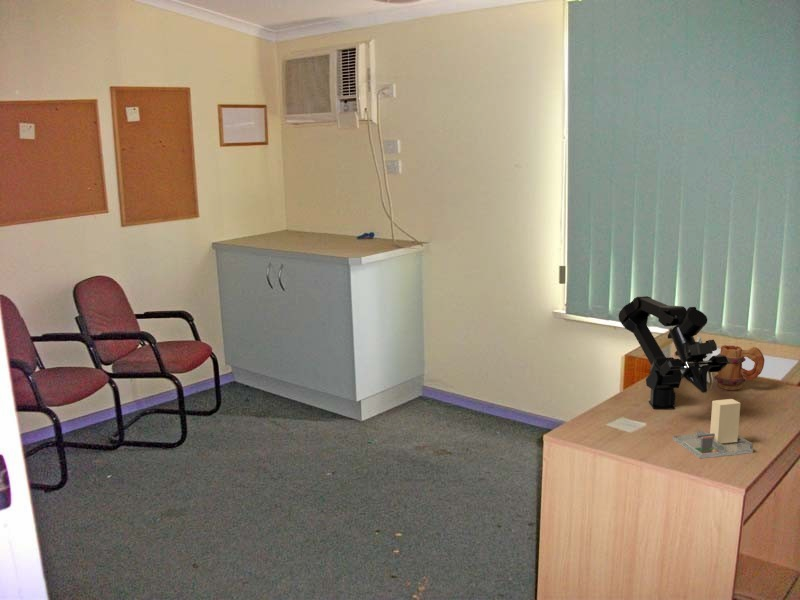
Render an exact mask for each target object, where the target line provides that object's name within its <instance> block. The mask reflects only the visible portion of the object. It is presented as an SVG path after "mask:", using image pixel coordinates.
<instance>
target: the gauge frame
mask: <svg viewBox="0 0 800 600" xmlns="http://www.w3.org/2000/svg"><path fill="white" fill-rule="evenodd" d="M701 434H710V432H704V431H702V430H701V429H697V431H696V433H690V434H681V435H673V436H672V440H673V441H675V442H676V443H677V444H678V445H680V446H682V447H683V448H685V450H687V451H689V452H690V453H692V454H693V455H694V456H695V457H697V458H699V459H705V458H707V459H708V458H715V457H716V458H717V457H725V456H734V455H735V456H736V455H744V454H752V453H754V448H753V447H754V443H753V442H751V441H749V440H747V439H745V438H744V437H742V436H740V435H739V434H738V440H737V442H730V443H720V442H718V441H717V440H715V439H713V444H712V448H707V449H701V438H697V435H701Z"/></svg>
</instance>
